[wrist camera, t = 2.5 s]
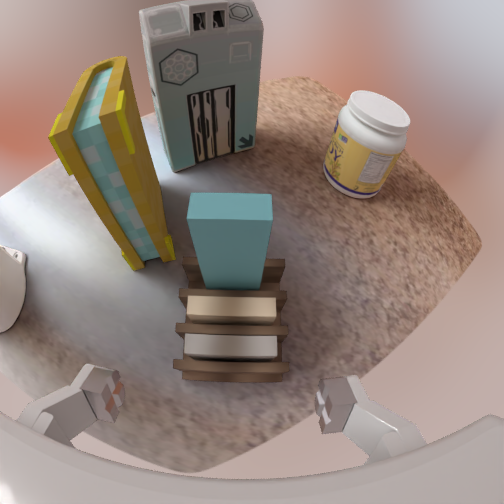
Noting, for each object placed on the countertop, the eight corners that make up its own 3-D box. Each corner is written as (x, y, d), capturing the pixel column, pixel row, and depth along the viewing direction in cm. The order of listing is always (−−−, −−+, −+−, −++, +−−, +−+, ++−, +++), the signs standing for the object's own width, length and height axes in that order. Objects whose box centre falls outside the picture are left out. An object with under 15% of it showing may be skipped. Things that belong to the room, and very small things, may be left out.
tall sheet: (210, 300, 34) (186, 218, 19) (211, 283, 35) (191, 192, 20) (256, 302, 35) (272, 220, 19) (256, 284, 36) (271, 194, 20)
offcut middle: (196, 329, 32) (186, 314, 26) (197, 313, 33) (188, 295, 27) (269, 330, 33) (276, 316, 27) (268, 315, 34) (275, 297, 28)
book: (175, 259, 39) (121, 109, 17) (133, 270, 37) (48, 137, 15) (162, 178, 46) (131, 51, 24) (127, 188, 45) (83, 67, 23)
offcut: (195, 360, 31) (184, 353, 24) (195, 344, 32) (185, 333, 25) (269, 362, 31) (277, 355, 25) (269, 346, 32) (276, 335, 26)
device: (173, 174, 47) (144, 14, 20) (164, 151, 50) (138, 10, 24) (255, 149, 51) (266, 0, 24) (239, 129, 54) (243, -5, 28)
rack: (184, 379, 31) (172, 377, 25) (192, 265, 38) (185, 242, 33) (280, 381, 31) (289, 380, 25) (276, 267, 39) (283, 244, 33)
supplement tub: (315, 154, 51) (334, 82, 36) (368, 158, 52) (395, 95, 37) (329, 200, 45) (360, 122, 30) (387, 203, 46) (428, 136, 31)
